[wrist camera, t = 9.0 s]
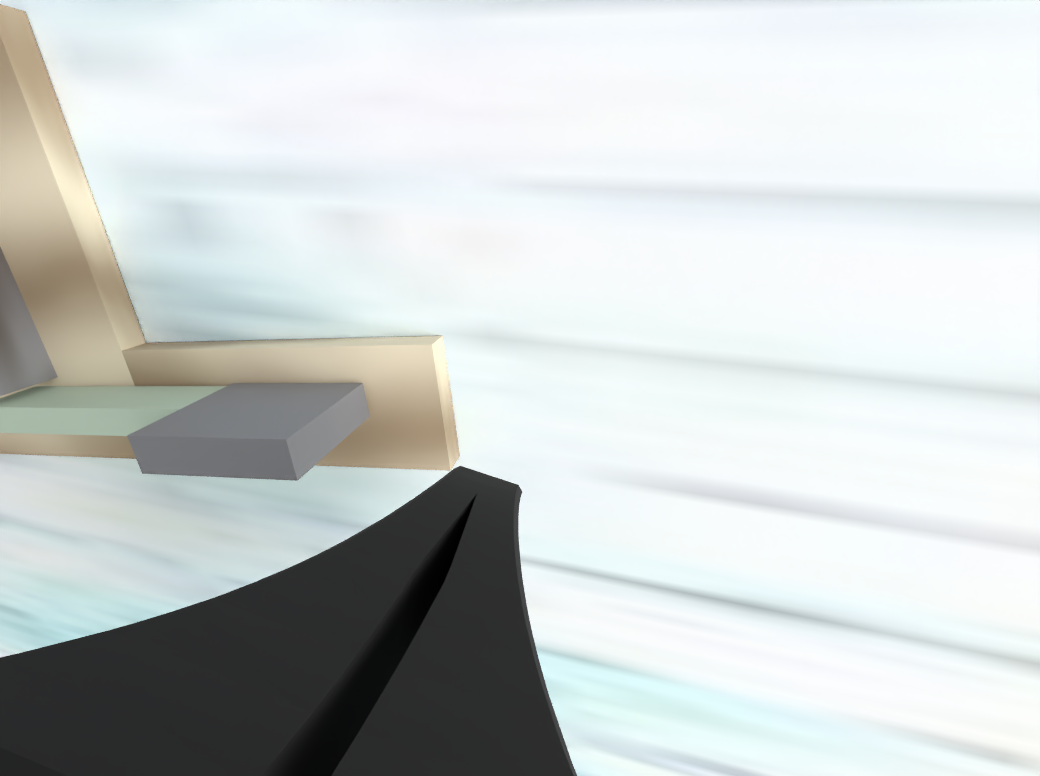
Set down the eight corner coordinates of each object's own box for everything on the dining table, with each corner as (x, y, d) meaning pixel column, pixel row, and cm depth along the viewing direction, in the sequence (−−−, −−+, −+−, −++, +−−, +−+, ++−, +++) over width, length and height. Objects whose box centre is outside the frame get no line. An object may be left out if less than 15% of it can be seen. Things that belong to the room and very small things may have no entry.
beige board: (-333, 88, 19) (-495, 71, 16) (386, -66, 13) (319, -137, 10) (-121, 438, 24) (-215, 469, 22) (459, 455, 18) (429, 504, 15)
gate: (34, 383, 19) (-104, 429, 16) (363, 383, 16) (285, 439, 13) (47, 411, 20) (-85, 463, 16) (370, 416, 17) (297, 480, 13)
